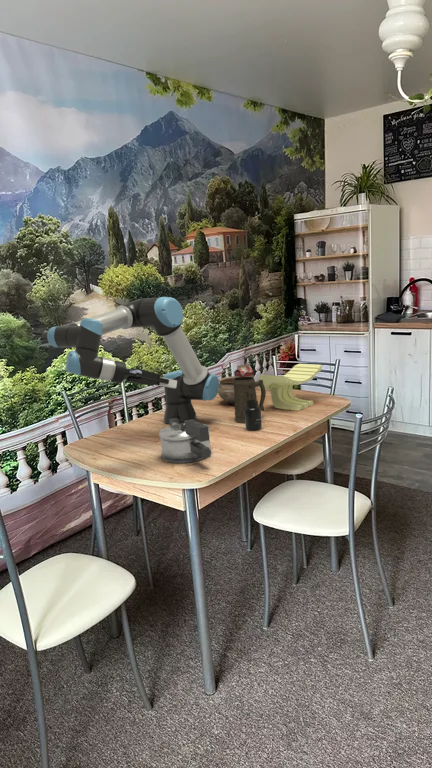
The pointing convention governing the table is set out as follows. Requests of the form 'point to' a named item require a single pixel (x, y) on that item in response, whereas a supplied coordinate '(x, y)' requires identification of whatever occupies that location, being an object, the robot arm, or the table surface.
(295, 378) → the slatted curved stool
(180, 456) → the pot
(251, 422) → the supplement bottle
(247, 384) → the beer stein
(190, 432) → the lid
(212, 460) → the table surface
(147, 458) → the table surface
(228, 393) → the cooking pot
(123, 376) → the robot arm
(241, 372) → the juice carton
